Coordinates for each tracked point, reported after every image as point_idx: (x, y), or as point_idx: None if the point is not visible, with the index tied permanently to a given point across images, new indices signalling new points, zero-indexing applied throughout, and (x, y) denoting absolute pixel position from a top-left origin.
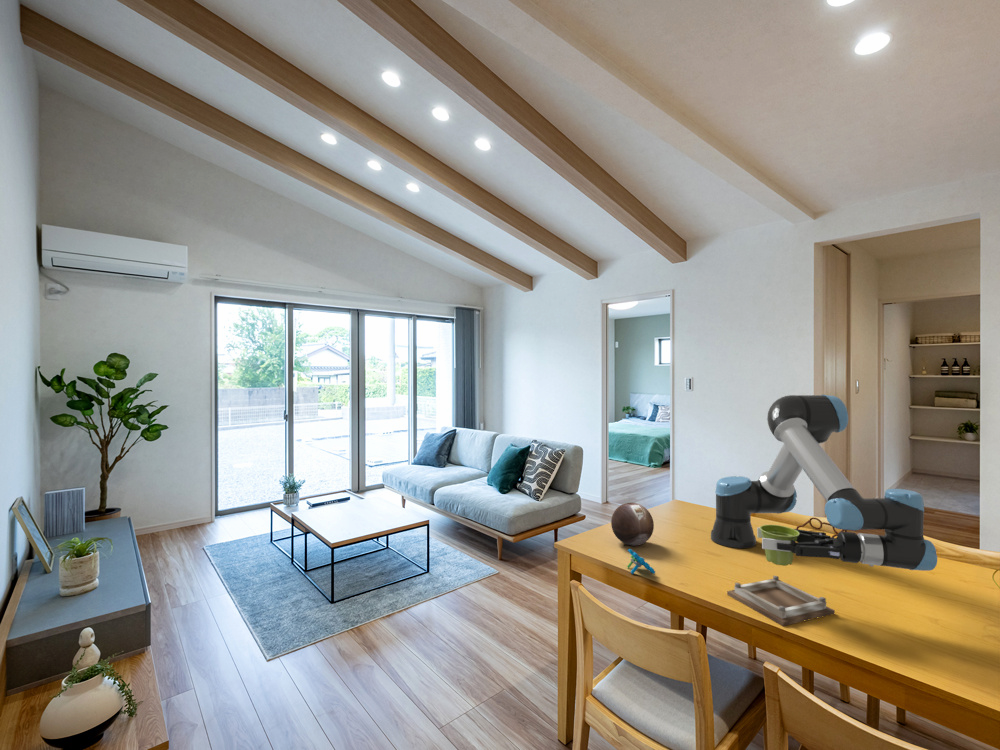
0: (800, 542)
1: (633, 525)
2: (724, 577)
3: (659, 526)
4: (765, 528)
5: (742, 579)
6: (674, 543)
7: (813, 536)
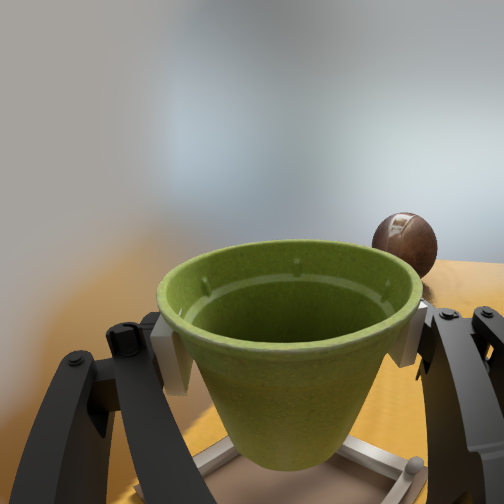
0: (153, 388)
1: (379, 243)
2: (383, 386)
3: (493, 280)
4: (341, 261)
5: (403, 413)
6: (460, 302)
7: (471, 479)
